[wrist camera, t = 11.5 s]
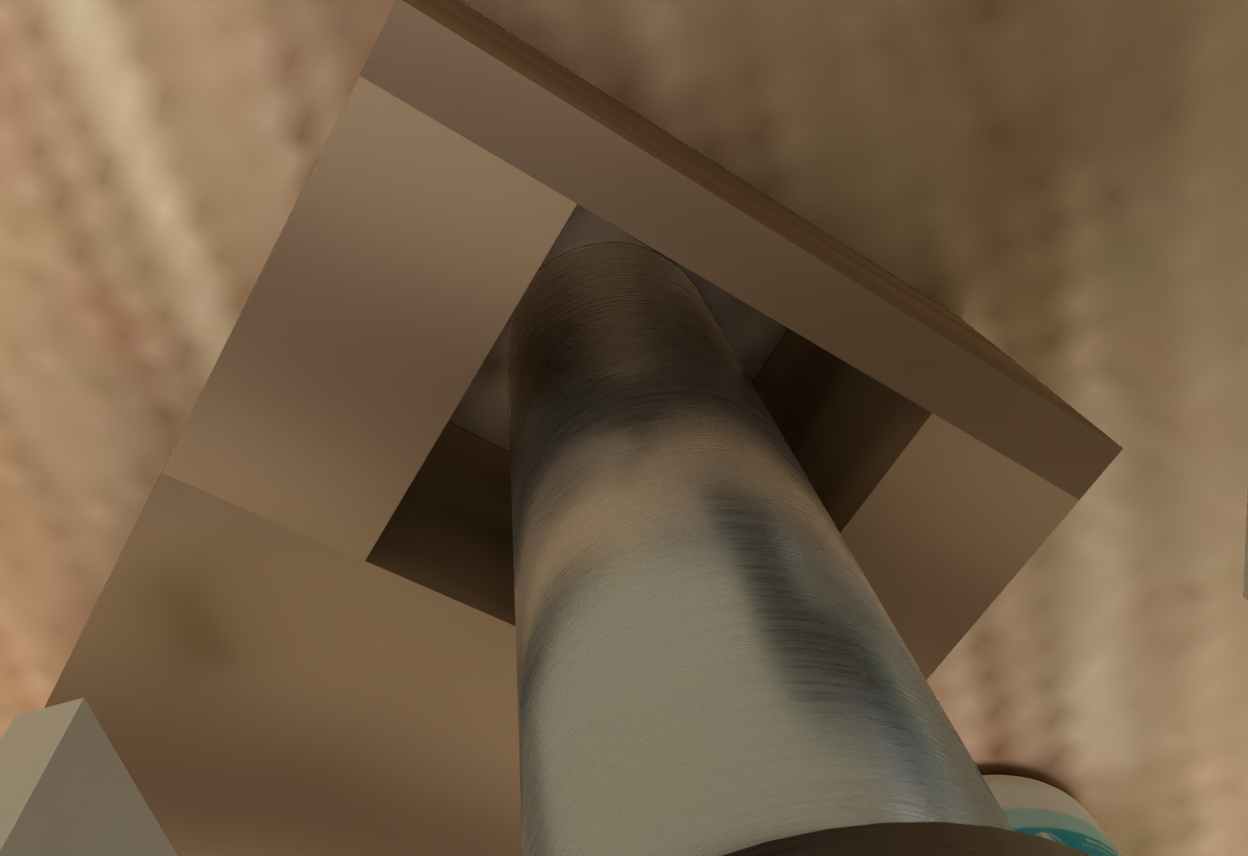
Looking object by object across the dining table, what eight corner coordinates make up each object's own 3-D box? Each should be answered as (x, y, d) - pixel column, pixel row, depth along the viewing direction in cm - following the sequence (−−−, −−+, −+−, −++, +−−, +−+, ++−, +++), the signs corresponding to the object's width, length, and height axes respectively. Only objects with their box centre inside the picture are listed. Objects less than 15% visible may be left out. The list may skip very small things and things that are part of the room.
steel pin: (561, 158, 19) (777, 849, 4) (790, 295, 20) (1490, 1127, 6) (428, 389, 20) (269, 1450, 6) (649, 499, 22) (942, 1545, 8)
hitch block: (428, -19, 17) (383, 6, 10) (962, 319, 21) (1194, 506, 14) (63, 703, 23) (-133, 1047, 16) (544, 873, 26) (562, 1213, 19)
